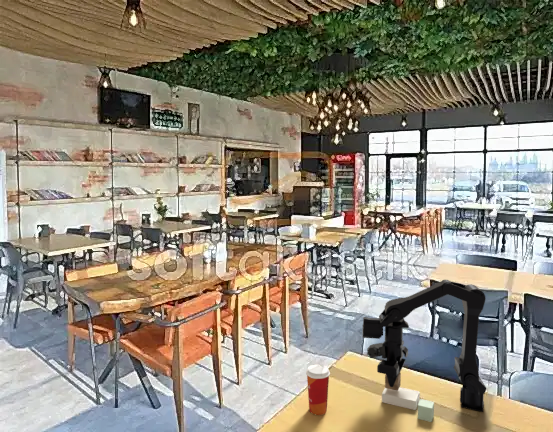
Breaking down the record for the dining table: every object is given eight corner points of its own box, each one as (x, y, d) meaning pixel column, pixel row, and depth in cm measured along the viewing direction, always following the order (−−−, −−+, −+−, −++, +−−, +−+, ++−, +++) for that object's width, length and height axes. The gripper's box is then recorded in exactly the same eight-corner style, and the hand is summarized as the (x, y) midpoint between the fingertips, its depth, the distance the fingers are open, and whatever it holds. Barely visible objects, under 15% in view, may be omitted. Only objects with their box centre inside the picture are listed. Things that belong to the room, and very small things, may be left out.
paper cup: (312, 401, 145) (312, 361, 144) (333, 408, 141) (333, 366, 140) (301, 413, 138) (301, 371, 137) (323, 419, 134) (323, 376, 133)
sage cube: (433, 415, 136) (434, 401, 136) (431, 422, 133) (432, 408, 132) (419, 412, 138) (420, 398, 138) (417, 418, 135) (417, 405, 134)
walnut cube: (400, 385, 147) (400, 372, 146) (397, 390, 143) (397, 377, 143) (388, 382, 149) (388, 370, 148) (385, 388, 145) (385, 375, 145)
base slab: (419, 400, 146) (419, 391, 145) (415, 410, 139) (415, 401, 139) (386, 392, 151) (386, 384, 150) (381, 402, 144) (381, 393, 144)
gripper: (377, 326, 156) (376, 367, 158) (361, 344, 140) (361, 390, 141) (408, 331, 151) (407, 374, 152) (396, 350, 135) (395, 398, 136)
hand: (392, 383), depth 146 cm, fingers closed on walnut cube, 4 cm apart
